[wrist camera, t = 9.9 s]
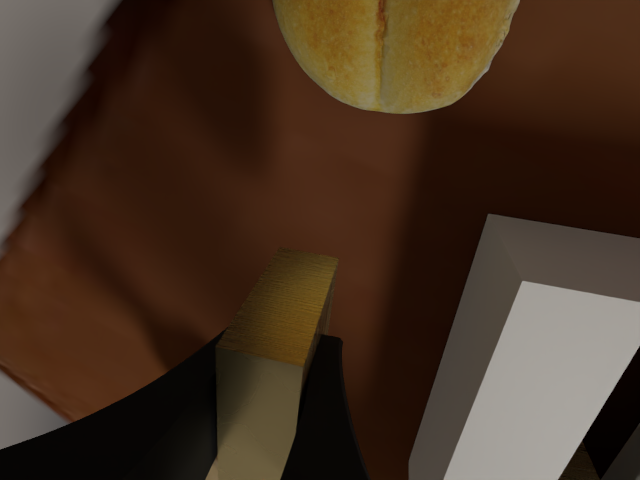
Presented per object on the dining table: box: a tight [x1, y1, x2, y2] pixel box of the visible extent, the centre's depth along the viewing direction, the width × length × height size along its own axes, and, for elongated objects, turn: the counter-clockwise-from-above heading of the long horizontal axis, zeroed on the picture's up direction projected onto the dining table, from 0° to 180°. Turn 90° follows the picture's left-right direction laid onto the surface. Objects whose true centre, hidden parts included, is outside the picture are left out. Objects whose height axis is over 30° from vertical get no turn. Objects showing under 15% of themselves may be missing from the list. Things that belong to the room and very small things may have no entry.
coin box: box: [409, 214, 640, 480], centre depth 19 cm, size 18×12×6 cm, turn 174°
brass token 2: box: [558, 441, 600, 480], centre depth 21 cm, size 5×2×5 cm, turn 175°
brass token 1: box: [215, 247, 339, 480], centre depth 12 cm, size 5×2×5 cm, turn 174°
